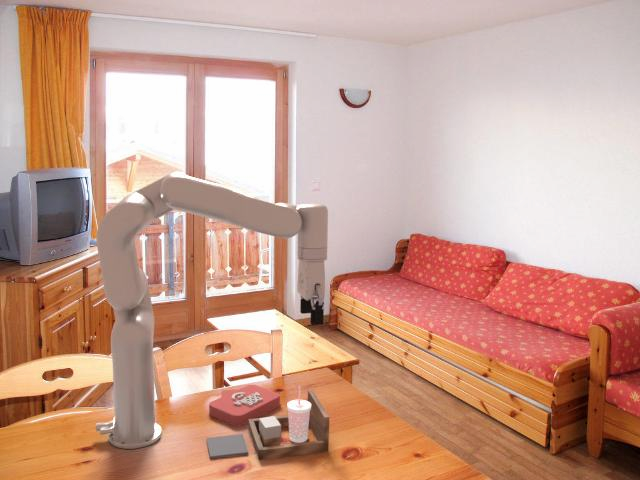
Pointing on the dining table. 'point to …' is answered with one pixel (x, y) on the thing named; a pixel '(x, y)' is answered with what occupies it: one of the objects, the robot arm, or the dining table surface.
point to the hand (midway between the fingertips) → (311, 318)
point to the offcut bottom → (270, 441)
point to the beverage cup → (298, 419)
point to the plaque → (243, 404)
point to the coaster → (227, 446)
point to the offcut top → (269, 427)
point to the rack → (318, 427)
